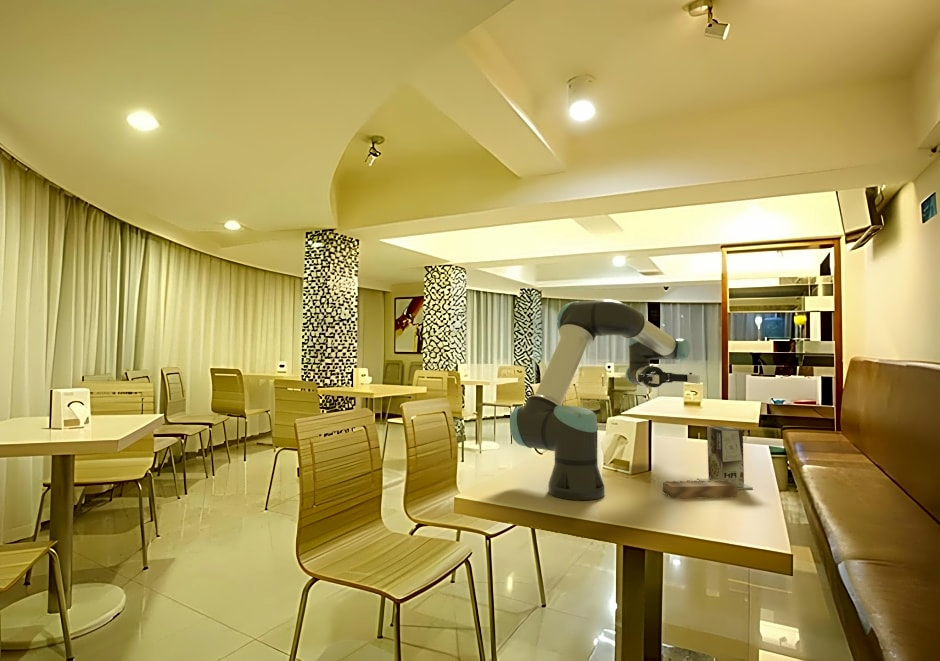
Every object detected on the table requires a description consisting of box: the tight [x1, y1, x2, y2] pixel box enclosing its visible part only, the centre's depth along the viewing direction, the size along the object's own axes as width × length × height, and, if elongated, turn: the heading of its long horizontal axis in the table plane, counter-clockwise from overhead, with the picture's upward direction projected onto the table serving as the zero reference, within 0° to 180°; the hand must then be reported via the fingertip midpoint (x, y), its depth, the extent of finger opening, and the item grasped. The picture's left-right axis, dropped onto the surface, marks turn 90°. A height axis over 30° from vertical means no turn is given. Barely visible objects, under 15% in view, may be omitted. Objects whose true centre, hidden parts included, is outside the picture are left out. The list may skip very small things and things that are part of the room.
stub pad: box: [696, 478, 753, 490], centre depth 152 cm, size 10×11×1 cm
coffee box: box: [706, 425, 745, 487], centre depth 152 cm, size 9×6×16 cm
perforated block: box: [662, 479, 738, 499], centre depth 141 cm, size 18×6×3 cm, turn 95°
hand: (678, 379), depth 168 cm, fingers open, 13 cm apart
